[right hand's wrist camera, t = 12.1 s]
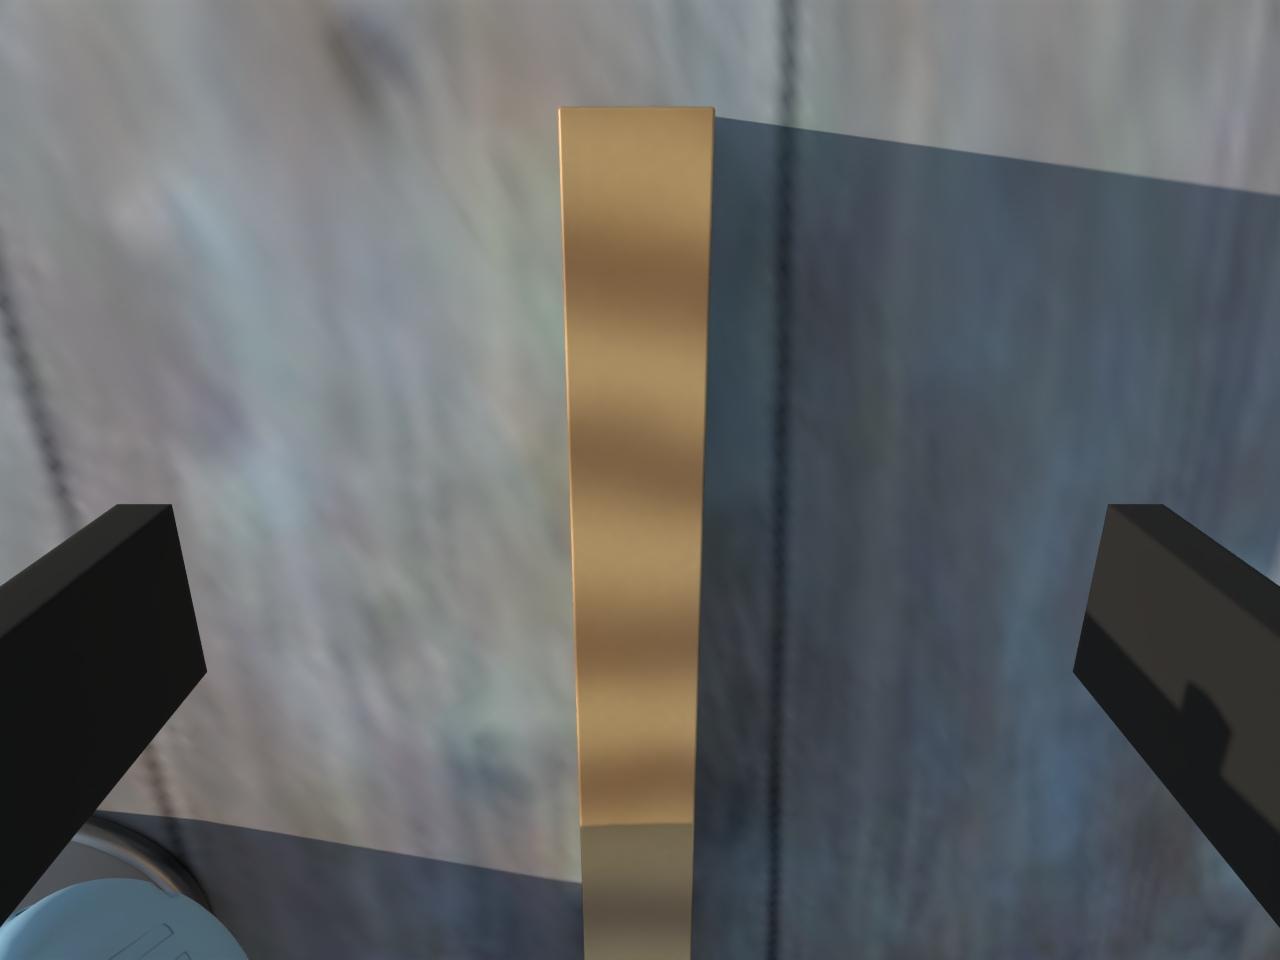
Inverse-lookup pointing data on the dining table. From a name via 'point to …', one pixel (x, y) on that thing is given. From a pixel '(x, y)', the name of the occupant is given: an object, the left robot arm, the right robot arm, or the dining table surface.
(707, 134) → the board
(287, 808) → the dining table surface
